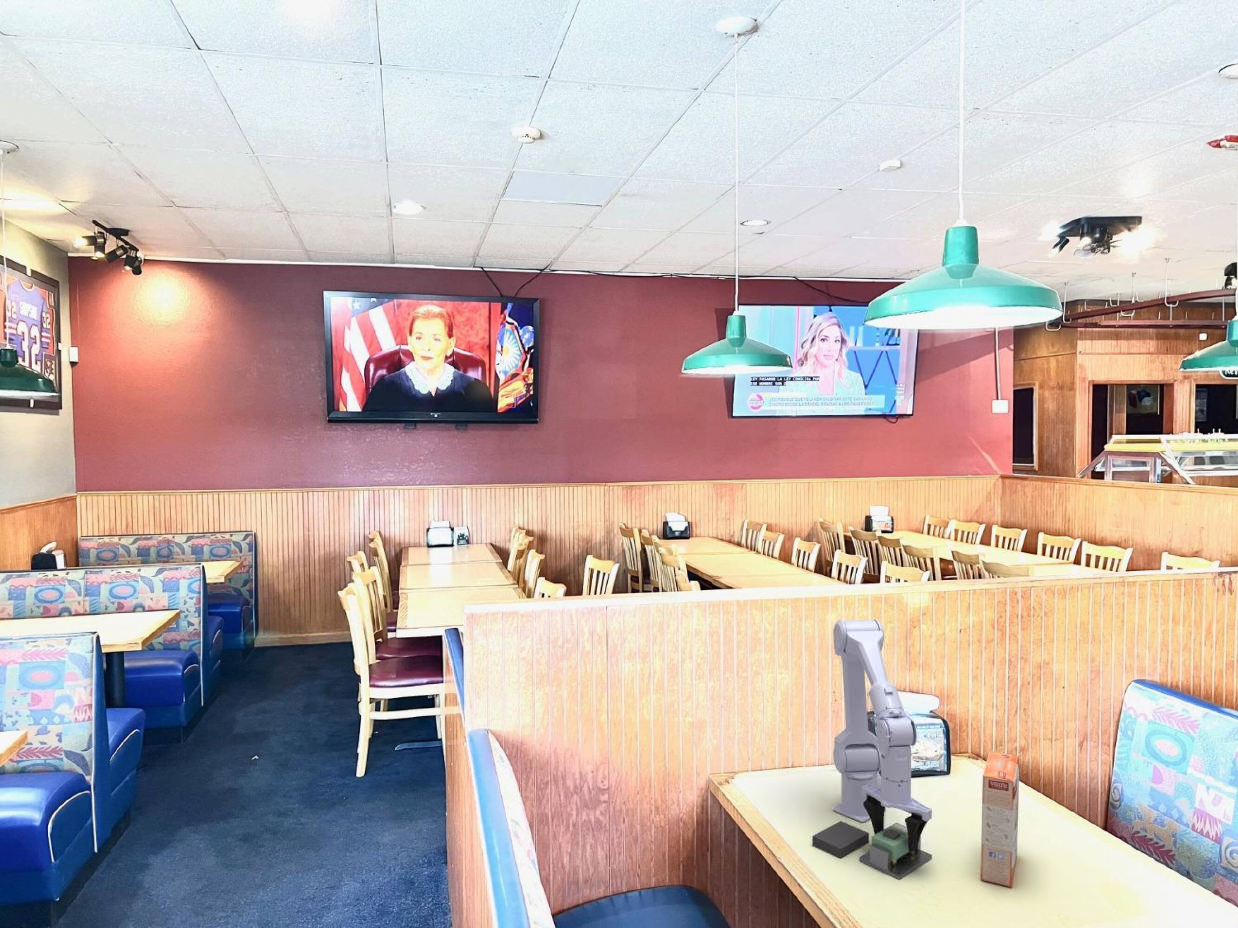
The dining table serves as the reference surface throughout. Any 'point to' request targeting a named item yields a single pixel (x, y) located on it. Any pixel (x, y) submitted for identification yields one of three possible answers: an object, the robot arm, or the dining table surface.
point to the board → (893, 840)
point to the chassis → (899, 867)
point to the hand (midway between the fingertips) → (895, 842)
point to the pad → (840, 839)
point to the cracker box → (999, 818)
